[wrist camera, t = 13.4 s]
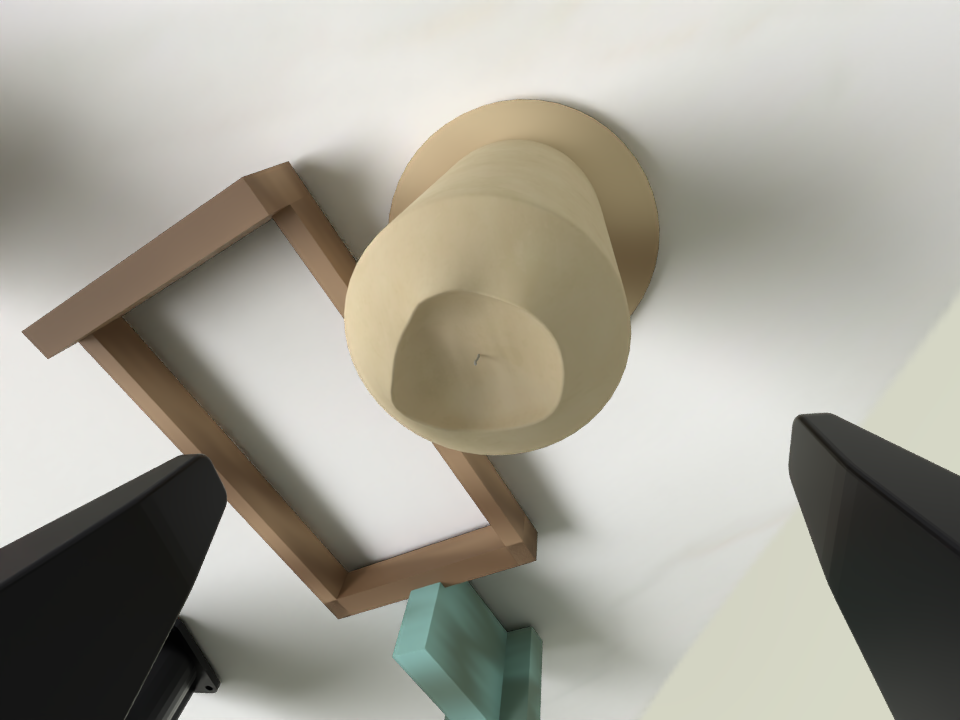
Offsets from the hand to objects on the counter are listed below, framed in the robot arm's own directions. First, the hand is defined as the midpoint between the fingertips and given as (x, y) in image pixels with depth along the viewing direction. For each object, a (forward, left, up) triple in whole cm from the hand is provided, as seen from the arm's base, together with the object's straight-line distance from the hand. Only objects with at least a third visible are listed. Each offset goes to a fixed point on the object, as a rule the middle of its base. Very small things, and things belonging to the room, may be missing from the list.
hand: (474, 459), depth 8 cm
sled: (-10, +8, -11) cm, 17 cm away
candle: (+1, 0, -12) cm, 12 cm away
